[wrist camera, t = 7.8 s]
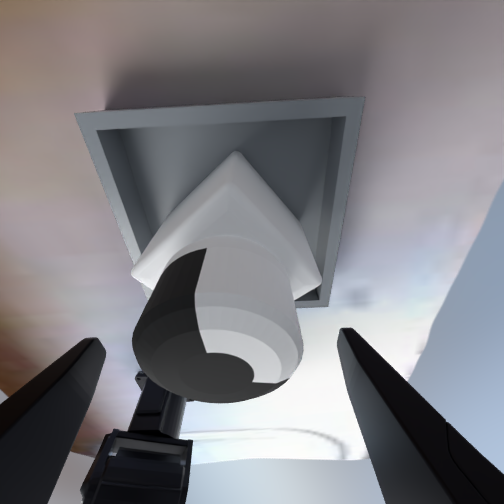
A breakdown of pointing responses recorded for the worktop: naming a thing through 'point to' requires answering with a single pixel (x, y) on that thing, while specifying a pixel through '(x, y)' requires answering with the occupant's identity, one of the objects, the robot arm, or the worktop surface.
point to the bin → (216, 151)
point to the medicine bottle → (224, 290)
